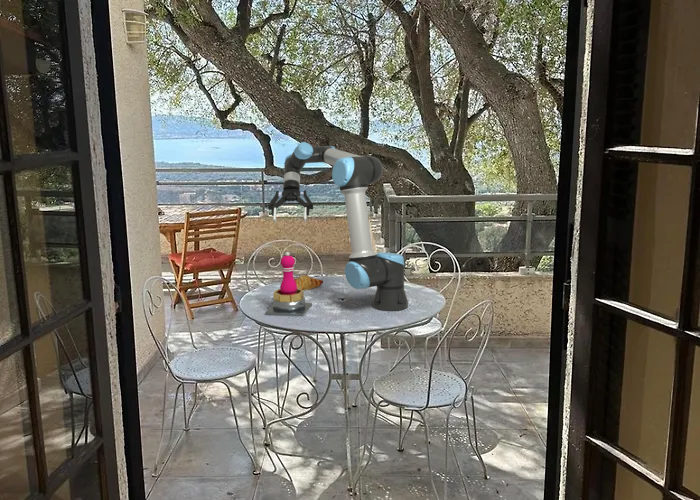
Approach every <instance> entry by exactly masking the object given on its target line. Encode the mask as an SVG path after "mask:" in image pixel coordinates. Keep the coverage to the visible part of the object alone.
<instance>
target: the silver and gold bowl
mask: <svg viewBox="0 0 700 500" xmlns="http://www.w3.org/2000/svg"><path fill="white" fill-rule="evenodd" d="M304 292H305V290H301V289H299V288H297V291H296V292H295V293H296V294H292V295H282V294H283V293H282V292H281V291H280V288H278V289H276V290H274V291H273V298H272V305H271V306H270V307H269V308H268V309H267V310H266V311H265V316H277V317H278V316H281V317H282V316H283V317H304V316H305V315H306V314H307V312H308V311H309V310H310V309H311V308H312V306H313V303H312V302H306V297H305V293H304ZM309 308H310V309H309Z"/></svg>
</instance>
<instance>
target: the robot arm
mask: <svg viewBox="0 0 700 500" xmlns="http://www.w3.org/2000/svg"><path fill="white" fill-rule="evenodd" d="M315 163H316V164H317V163H323V164H327V165H331V166H332V167H333V168H332V171H331V177H332V178H331V179H332V181H333V183H334V185H335V186H336V187H338V188H339V192H340V193H341V194H342V195H343V196H344V203H345V210H346V218H347V226H348V233H349V240H350V250H351V253H350V255H349V256H348V262H347V263H346V265H345V267H344V277H345V279H346V281H347V283H348V284H349V285H350V286H351V288H353V289H355V290H362V289H364V290H365V289H368V288H372V287H376V291H375V294H374V297H373V299H372V307H373V308H374V309H375V310H379V311H387V312H388V311H390V312H395V311H401V310H402V311H403V310H406V309H407V308H408V307H409V299H408V297H407V294H406V291H405V259H404V256H403V255H402V254H400V253H395V252H394V253H393V252H375V251H374V250H373V245H372V243H373V242H372V238H371V237H372V236H371V230H370V229H371V228H370V221H369V213H368V207H367V198H366V192H367V190H368V189H369V185H371V184H375V183H376V182H378V181H379V180H380V179H381V177H382V175H383V173H384V166H383V163H382V162H381V160H380V159H379V158H377V156H371V155H368V154H367V155H359V154H355V153H351V152H347V151H344V150H341V149H337V148H335V146H332V145H325V146H324V145H323V146H322V145H320V146H312V145H311V144H310V143H308V142H306V141H302V142H300V143H298V144H297V146H296V147H295V148H294V149H293V152H292V153H291V154H289V155H288V156H286V157H285V159H284V163H283V164H284V172H283V187H282V191H281V192H280V191H279V190H276V191H275V195H274V196H273V197H272V199H271V201H270V202H269V203H268V205H267V209H268V211H271V216H272V217H273V223H274V224H277V209H279V208H280V206H281V205H283V204H284V203H286V202H295V201H296V202H297V203H299V204H300V205H301V206H302V207H303V208H304V217H303V219H304V223H306V224H307V217H308V216H310V211H311V210H314V203H312V201H311V199H310V198H309V196H308V194H307V190H303V191H301V190H300V189H301V171H302V170H303V168H304V167H305V165H306V164H315ZM301 196H302V197H303V198H301ZM303 199H304V200H305V201H304V200H303Z"/></svg>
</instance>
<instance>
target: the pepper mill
mask: <svg viewBox="0 0 700 500" xmlns="http://www.w3.org/2000/svg"><path fill="white" fill-rule="evenodd" d="M290 254H291V253H290V252H289V251H286V252H285V255H284V256H282V257H281V258H280V265H281V271H282V274H283V275H282V276H283V277H282V280H281V283H280V287H279V289H280V291H281V292H282V293H283V294H282V295H292V294H296V293H295V292H296V291H297V285H296V282H295V280H294V279H295V278H294V270H295V263H296V260H295V257H293V256H292V255H290Z"/></svg>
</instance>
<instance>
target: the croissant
mask: <svg viewBox="0 0 700 500" xmlns="http://www.w3.org/2000/svg"><path fill="white" fill-rule="evenodd" d="M294 280H295V282H296V285H297V288H299V289H301V290H304V291H308V290H312V289H315V288H318V287H320V286H321V285H322V284H323V283H324V280H323V279H318V278H314V277H310V276H309V275H307V274H302V275H300V276H298V277H297V278H296V277H295V278H294Z"/></svg>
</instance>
